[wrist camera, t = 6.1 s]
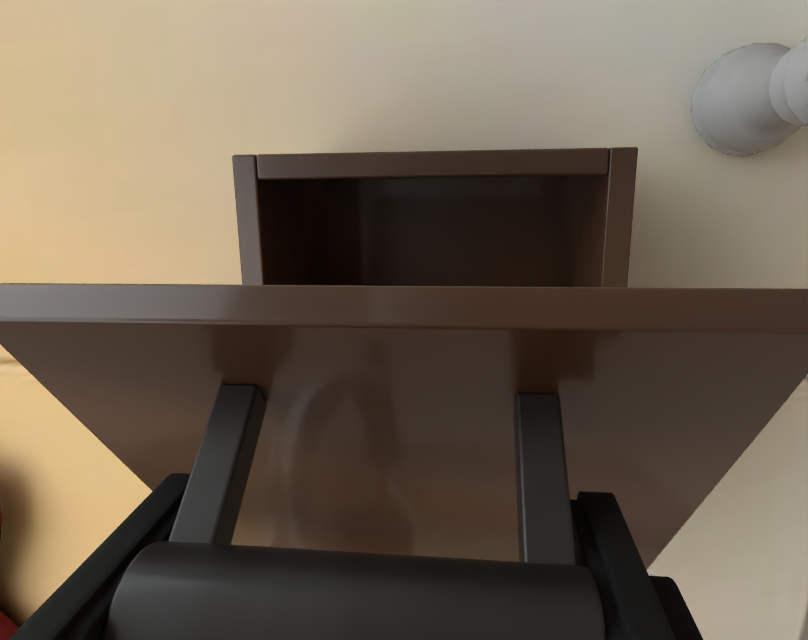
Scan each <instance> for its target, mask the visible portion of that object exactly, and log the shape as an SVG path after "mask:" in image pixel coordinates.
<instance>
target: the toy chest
mask: <svg viewBox="0 0 808 640" xmlns="http://www.w3.org/2000/svg"><path fill="white" fill-rule="evenodd" d="M637 154H638V148H637V147H622V148H572V149H520V150H468V151H416V152H363V153H311V154H259V155H233V156H232V161H233V173H234V185H235V198H236V210H237V222H238V235H239V247H240V259H241V272H242V284H243V285H337V286H480V287H623V288H627V281H628V269H629V256H630V243H631V231H632V218H633V205H634V192H635V180H636V167H637Z"/></svg>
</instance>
